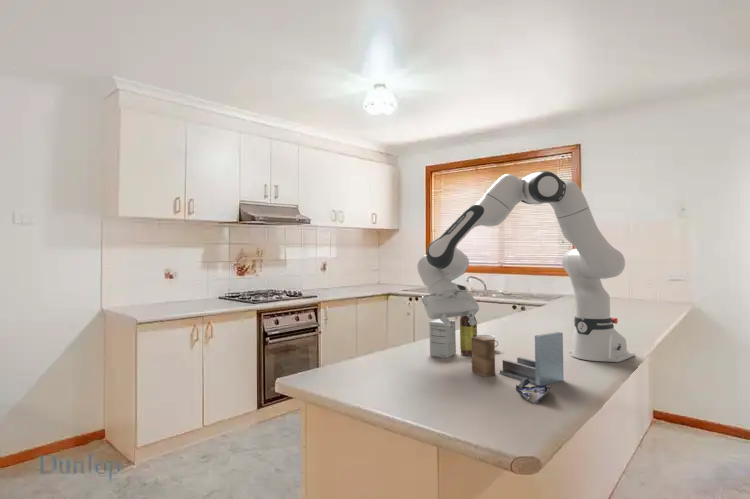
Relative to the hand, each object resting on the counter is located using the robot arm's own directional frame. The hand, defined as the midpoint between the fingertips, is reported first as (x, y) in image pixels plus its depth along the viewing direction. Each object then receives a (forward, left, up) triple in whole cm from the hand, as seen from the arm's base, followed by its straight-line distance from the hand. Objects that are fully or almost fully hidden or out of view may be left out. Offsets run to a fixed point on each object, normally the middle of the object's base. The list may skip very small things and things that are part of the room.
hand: (462, 325), depth 151 cm
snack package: (+4, +33, -14) cm, 36 cm away
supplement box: (-5, -17, -14) cm, 23 cm away
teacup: (-24, -14, -14) cm, 31 cm away
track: (-9, +20, -14) cm, 26 cm away
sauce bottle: (-14, -13, -14) cm, 24 cm away
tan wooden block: (0, +10, -14) cm, 17 cm away
